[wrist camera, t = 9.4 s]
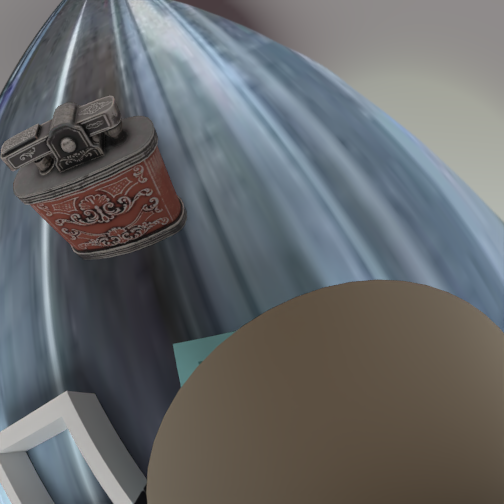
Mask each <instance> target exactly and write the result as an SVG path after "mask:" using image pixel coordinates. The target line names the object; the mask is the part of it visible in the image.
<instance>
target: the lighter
mask: <svg viewBox="0 0 504 504" xmlns="http://www.w3.org/2000/svg"><path fill="white" fill-rule="evenodd" d="M157 143H158V136H157V134H156V131H155V128H154V125H153V123H152V121H151V120H150V119H149V118H147V117H144V116H134V117H129V118H124V119H121V113H120V111H119V109H118V106H117V104H116V102H115V99H114V97H113V96H107V97H103V98H101V99H98V100H96V101H93V102H91V103H88V104H86V105H83V106H79V105H77V104H75V103H72V102H69V103H65V104H63V105H60V106H58V107H57V109H56V110H55V112H54V115H53V119H52V120H49V121H47V122H45V123H43V124H41V125H39V124H36V125H34V126H32V127H30V128H28V129H27V130H25V131H23V132H21V133H19V134H17V135H15V136H14V137H12V138H10V139H8V140H7V141H5V142H4V144H3V146H2V149H1V159H2V160H3V161H4V163H5V164H6V165H7V166H8V167H9V168H10V170H11V171H15V170H17V169H19V168H20V170H19V172H18V173H17V175H16V177H15V180H14V183H13V191H14V194H15V195H16V196H17V197H18V198H19V199H20V200H21V201H22V202H23V203H24V204H28V205H31V206H32V207H33V208H34V210H35V211H36V212H37V213H38V214H39V215H40V216H41V217H42V218H43V219H44V220H45V221H47V222H48V223H49V224H50V225H51V226H52V227H53V228H54V229H55V230H56V231H57V232H58V233H59V234H60V235H61V236H62V237H63V238H64V239H65V240H66V241H67V242H68V243H70V244H71V247H72V249H73V251H74V252H75V253H76V254H77V255H79V256H80V257H81V258H83V259H85V260H92V259H101V258H109V257H113V256H118V255H122V254H127V253H131V252H133V251H136V250H139V249H142V248H144V247H147V246H150V245H153V244H155V243H157V242H159V241H161V240H163V239H165V238H167V237H170V236H172V235H174V234H176V233H177V232H179V231H180V230H181V229H182V228H183V227H184V225H185V223H186V220H187V212H186V209H185V207H184V204H183V202H182V200H181V198H180V197H179V196H178V195H176V192H175V190H174V187H173V185H172V182H171V180H170V177H169V175H168V172H167V170H166V167H165V164H164V162H163V159H162V157H161V154H160V152H159V149H158V146H157Z"/></svg>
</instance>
